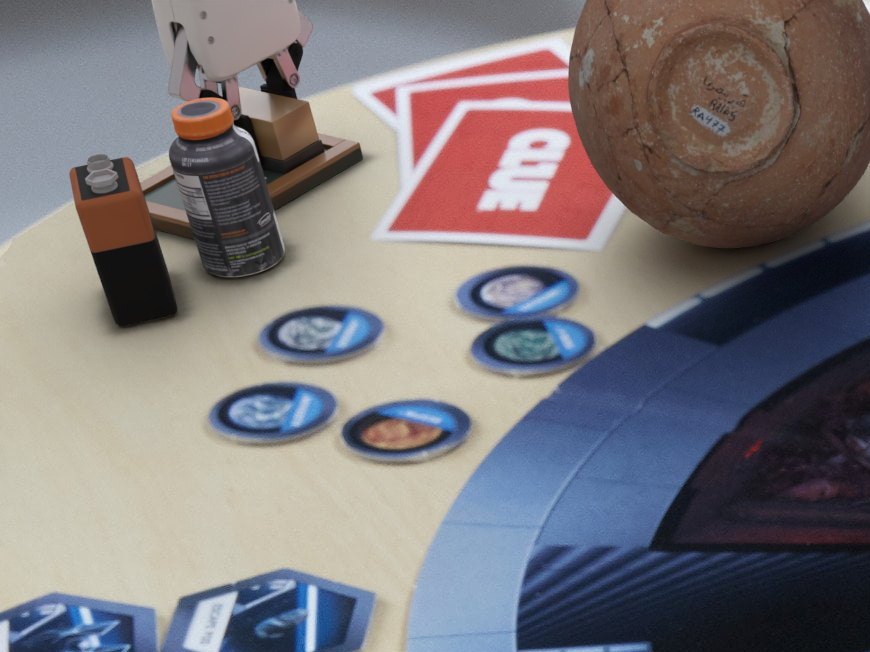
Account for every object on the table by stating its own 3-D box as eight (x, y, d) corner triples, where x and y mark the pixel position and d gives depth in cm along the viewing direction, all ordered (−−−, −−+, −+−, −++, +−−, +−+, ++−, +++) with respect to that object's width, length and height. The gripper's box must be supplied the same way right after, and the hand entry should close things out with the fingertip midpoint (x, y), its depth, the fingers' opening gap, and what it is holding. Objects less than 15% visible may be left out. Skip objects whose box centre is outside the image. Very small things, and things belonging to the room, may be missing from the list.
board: (215, 244, 175) (210, 228, 174) (110, 217, 179) (104, 201, 179) (363, 158, 185) (359, 142, 184) (260, 134, 189) (256, 118, 188)
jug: (500, 175, 156) (549, 115, 183) (795, 334, 162) (801, 253, 188) (642, -147, 148) (672, -161, 175) (948, 33, 154) (932, -7, 180)
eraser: (287, 174, 181) (272, 123, 178) (215, 158, 184) (199, 107, 181) (325, 152, 183) (310, 100, 180) (253, 136, 186) (238, 85, 184)
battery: (116, 330, 166) (69, 192, 159) (108, 289, 171) (62, 154, 164) (180, 317, 167) (136, 179, 160) (170, 276, 171) (127, 141, 165)
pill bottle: (292, 239, 175) (249, 85, 167) (279, 276, 170) (235, 120, 163) (211, 246, 175) (164, 93, 167) (196, 283, 170) (148, 128, 163)
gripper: (244, -141, 177) (308, 102, 190) (74, -63, 167) (154, 188, 180) (318, -129, 174) (379, 117, 187) (149, -49, 164) (225, 205, 177)
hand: (267, 149), depth 183 cm, fingers closed on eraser, 4 cm apart
